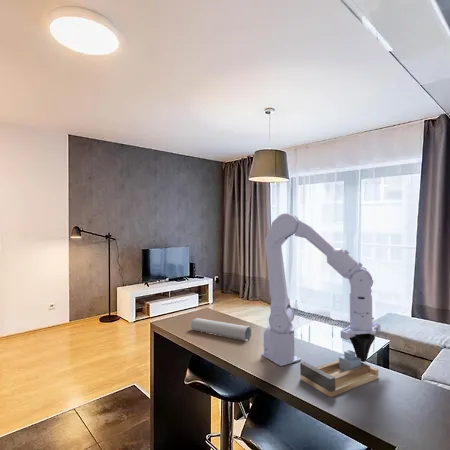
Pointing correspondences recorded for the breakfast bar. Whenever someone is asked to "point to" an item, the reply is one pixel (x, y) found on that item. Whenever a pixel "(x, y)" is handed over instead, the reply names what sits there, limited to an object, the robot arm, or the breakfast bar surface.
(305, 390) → the breakfast bar surface
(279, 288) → the robot arm
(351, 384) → the track
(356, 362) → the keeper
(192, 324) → the tube
